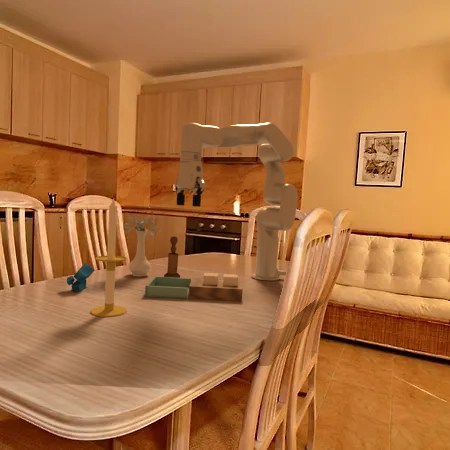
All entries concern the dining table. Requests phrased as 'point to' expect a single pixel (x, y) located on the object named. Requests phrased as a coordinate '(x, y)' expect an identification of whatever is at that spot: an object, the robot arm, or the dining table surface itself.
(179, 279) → the tray
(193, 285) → the board
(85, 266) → the crystal
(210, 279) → the tile
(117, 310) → the candle
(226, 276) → the tile
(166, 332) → the dining table surface
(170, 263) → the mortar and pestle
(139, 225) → the flower vase
